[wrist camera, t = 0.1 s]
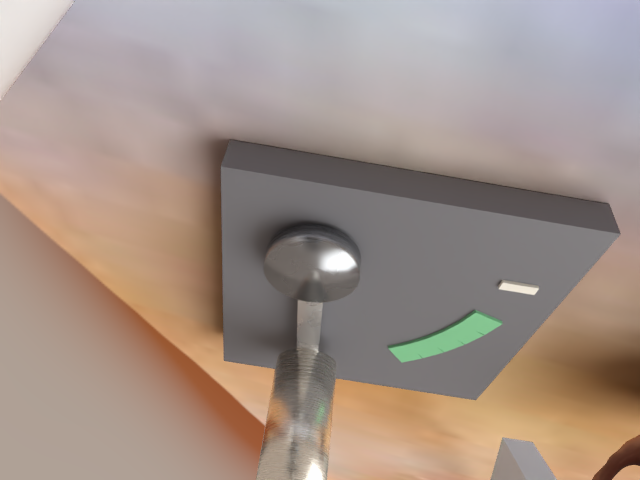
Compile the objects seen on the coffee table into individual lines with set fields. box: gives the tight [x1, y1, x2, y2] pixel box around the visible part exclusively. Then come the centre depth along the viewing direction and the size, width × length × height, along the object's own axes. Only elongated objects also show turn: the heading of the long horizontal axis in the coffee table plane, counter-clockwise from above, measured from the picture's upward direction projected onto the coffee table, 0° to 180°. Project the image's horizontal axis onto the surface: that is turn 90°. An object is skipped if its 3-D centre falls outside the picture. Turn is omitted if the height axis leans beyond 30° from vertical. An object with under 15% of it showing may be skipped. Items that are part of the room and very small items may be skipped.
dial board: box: [221, 140, 620, 400], centre depth 32 cm, size 19×19×2 cm
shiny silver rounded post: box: [256, 224, 361, 480], centre depth 27 cm, size 15×5×14 cm, turn 177°
